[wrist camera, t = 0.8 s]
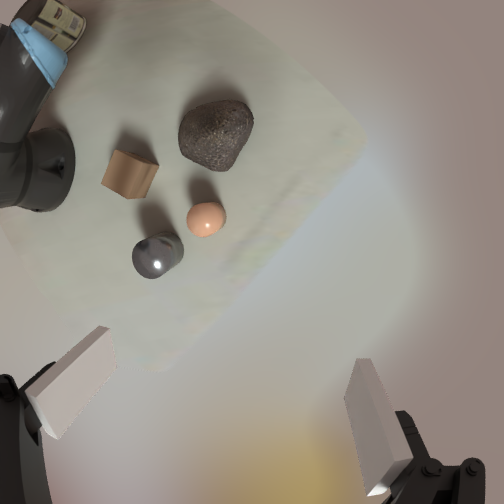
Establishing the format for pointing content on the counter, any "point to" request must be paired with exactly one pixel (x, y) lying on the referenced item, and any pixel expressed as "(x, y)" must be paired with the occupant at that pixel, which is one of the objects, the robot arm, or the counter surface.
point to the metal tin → (157, 254)
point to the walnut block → (129, 174)
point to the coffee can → (53, 21)
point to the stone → (215, 133)
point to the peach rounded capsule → (206, 218)
